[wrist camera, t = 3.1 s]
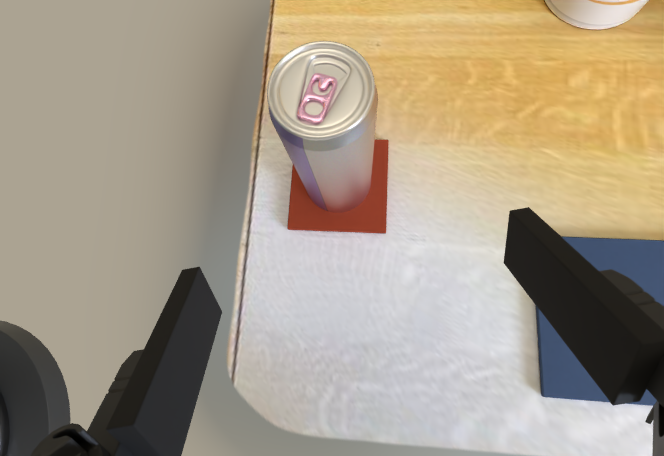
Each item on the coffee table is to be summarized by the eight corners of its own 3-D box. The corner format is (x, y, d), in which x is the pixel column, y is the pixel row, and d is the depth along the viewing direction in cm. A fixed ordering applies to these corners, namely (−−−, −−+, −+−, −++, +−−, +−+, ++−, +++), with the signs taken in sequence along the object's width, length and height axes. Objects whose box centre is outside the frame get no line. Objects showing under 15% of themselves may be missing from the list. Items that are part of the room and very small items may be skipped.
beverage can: (297, 203, 32) (245, 122, 18) (319, 146, 33) (287, 25, 19) (358, 222, 31) (356, 156, 17) (379, 164, 32) (394, 52, 18)
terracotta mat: (385, 233, 31) (385, 232, 31) (288, 229, 32) (287, 228, 32) (388, 141, 33) (388, 139, 33) (295, 140, 34) (294, 138, 34)
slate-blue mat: (719, 409, 27) (724, 411, 26) (541, 395, 28) (543, 396, 27) (693, 242, 29) (697, 241, 29) (531, 236, 30) (533, 235, 30)
